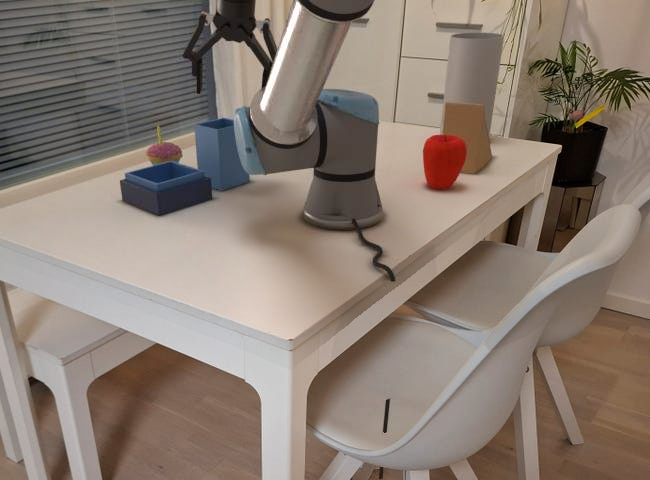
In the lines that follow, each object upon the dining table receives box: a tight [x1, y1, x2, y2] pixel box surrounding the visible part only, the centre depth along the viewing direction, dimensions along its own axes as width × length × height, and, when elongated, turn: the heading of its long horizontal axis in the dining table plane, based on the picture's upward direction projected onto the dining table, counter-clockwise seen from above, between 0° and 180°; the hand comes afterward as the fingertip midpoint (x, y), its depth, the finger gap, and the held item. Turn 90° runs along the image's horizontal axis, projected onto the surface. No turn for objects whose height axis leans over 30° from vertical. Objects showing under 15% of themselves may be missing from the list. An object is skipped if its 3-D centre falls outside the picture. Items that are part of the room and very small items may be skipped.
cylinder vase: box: [439, 32, 505, 137], centre depth 170 cm, size 12×12×25 cm
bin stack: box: [119, 161, 213, 217], centre depth 143 cm, size 14×14×6 cm
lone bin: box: [193, 117, 251, 192], centre depth 150 cm, size 8×8×13 cm
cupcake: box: [145, 122, 183, 166], centre depth 158 cm, size 9×8×12 cm
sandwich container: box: [443, 102, 493, 175], centre depth 156 cm, size 9×15×15 cm, turn 148°
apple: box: [422, 134, 467, 190], centre depth 143 cm, size 9×9×11 cm
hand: (231, 95), depth 143 cm, fingers open, 13 cm apart
